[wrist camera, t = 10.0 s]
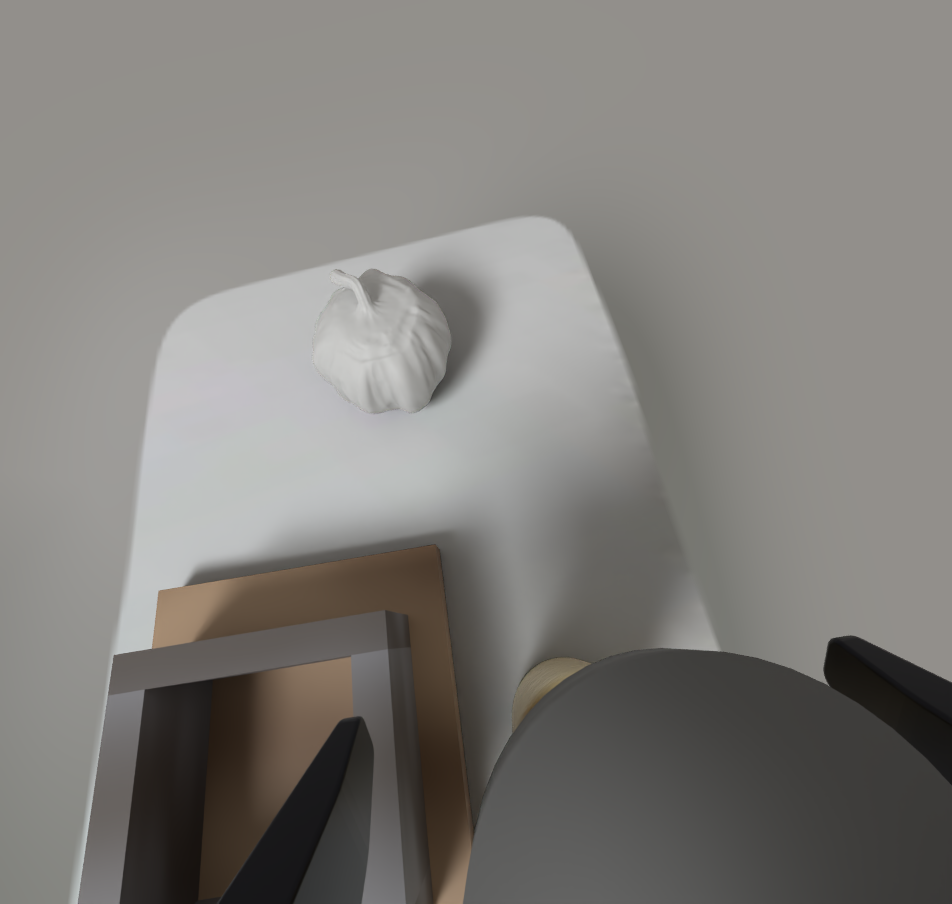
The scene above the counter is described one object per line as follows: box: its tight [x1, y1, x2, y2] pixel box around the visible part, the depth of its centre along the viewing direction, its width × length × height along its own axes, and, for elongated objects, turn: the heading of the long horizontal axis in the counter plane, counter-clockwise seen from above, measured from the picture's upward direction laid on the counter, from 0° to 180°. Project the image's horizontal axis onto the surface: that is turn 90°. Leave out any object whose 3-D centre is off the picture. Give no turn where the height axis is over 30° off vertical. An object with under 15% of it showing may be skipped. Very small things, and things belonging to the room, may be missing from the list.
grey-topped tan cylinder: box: [463, 648, 952, 904], centre depth 9 cm, size 5×5×12 cm
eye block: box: [78, 544, 474, 904], centre depth 13 cm, size 12×10×4 cm
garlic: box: [312, 269, 451, 414], centre depth 18 cm, size 6×5×5 cm
